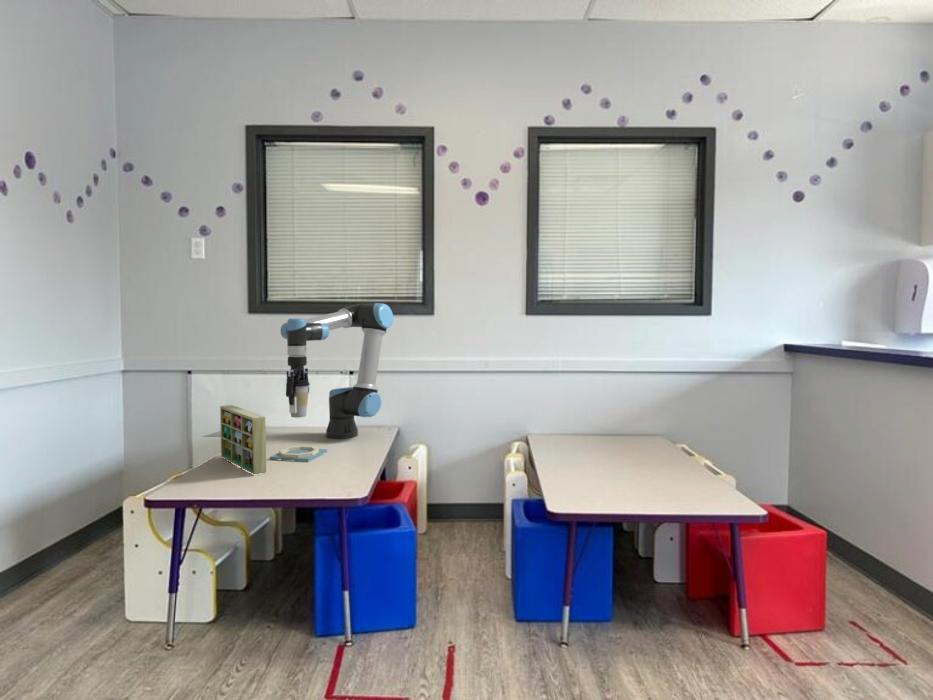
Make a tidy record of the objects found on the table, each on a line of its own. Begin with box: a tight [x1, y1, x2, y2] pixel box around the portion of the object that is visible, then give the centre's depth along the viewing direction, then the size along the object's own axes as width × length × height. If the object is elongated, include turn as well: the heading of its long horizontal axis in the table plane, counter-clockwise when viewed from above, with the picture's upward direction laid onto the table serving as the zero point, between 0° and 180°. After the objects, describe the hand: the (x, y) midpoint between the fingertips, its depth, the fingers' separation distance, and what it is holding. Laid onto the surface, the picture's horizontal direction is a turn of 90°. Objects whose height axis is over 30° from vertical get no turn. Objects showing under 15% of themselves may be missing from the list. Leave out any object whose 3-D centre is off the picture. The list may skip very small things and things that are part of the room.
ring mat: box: [269, 445, 328, 463], centre depth 246 cm, size 17×17×2 cm
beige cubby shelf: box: [219, 404, 267, 474], centre depth 230 cm, size 35×5×22 cm, turn 41°
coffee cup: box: [285, 379, 311, 419], centre depth 245 cm, size 9×9×15 cm
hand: (298, 410), depth 245 cm, fingers closed on coffee cup, 8 cm apart
